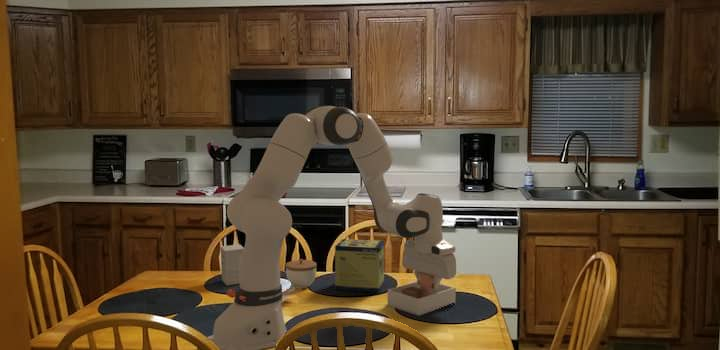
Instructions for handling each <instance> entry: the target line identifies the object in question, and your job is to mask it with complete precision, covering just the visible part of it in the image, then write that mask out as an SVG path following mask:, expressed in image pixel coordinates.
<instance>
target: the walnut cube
mask: <svg viewBox="0 0 720 350" xmlns="http://www.w3.org/2000/svg"><path fill="white" fill-rule="evenodd" d="M402 294H405V295H408V296H411V297H414V298H417V299H419V298H422V297H424V290H423V289H420V288H417V287H413V286H412V287H408V288H405V289H402Z"/></svg>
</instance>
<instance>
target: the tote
mask: <svg viewBox="0 0 720 350" xmlns="http://www.w3.org/2000/svg"><path fill="white" fill-rule="evenodd" d="M412 286H413V287H417V288H420V285H418V284H417V280H416V281H414V282H410V283H406V284H403V285H400V286H396V287H392V288H389V289H387V306H389V307H392V308H394V309H397V310H400V311H403V312H406V313H408V314H412V315H415V316H418V317H419V316H422V315H425V314H428V313H430V312H433V311H436V309H437V310H439V308H440V309H442V308H441V307H443V308H445V307H444V306H446V307H448V306H447V305H449V304H451V305H453V304H452V303H454V304H456V297H457V296H456V290H457V289H456V287H454V286H452V285H451V286H450V285H447V284H443V283H441V282H440V283H439V289H436V293H435V294H432V295H429V296H426V297H422V298H419V299H417V298H414V297H411V296H408V295H405V294H402V289H405V288H408V287H412ZM449 306H450V305H449Z"/></svg>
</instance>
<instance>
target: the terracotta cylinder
mask: <svg viewBox="0 0 720 350" xmlns="http://www.w3.org/2000/svg"><path fill="white" fill-rule="evenodd" d="M435 280H436V279H434V276H433V275H429V274H426V273H422V272H420V289H423V290H424V297H426V296H429V295H432V294H435V293H436V290H435V289H432V283H434V282H435Z"/></svg>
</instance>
